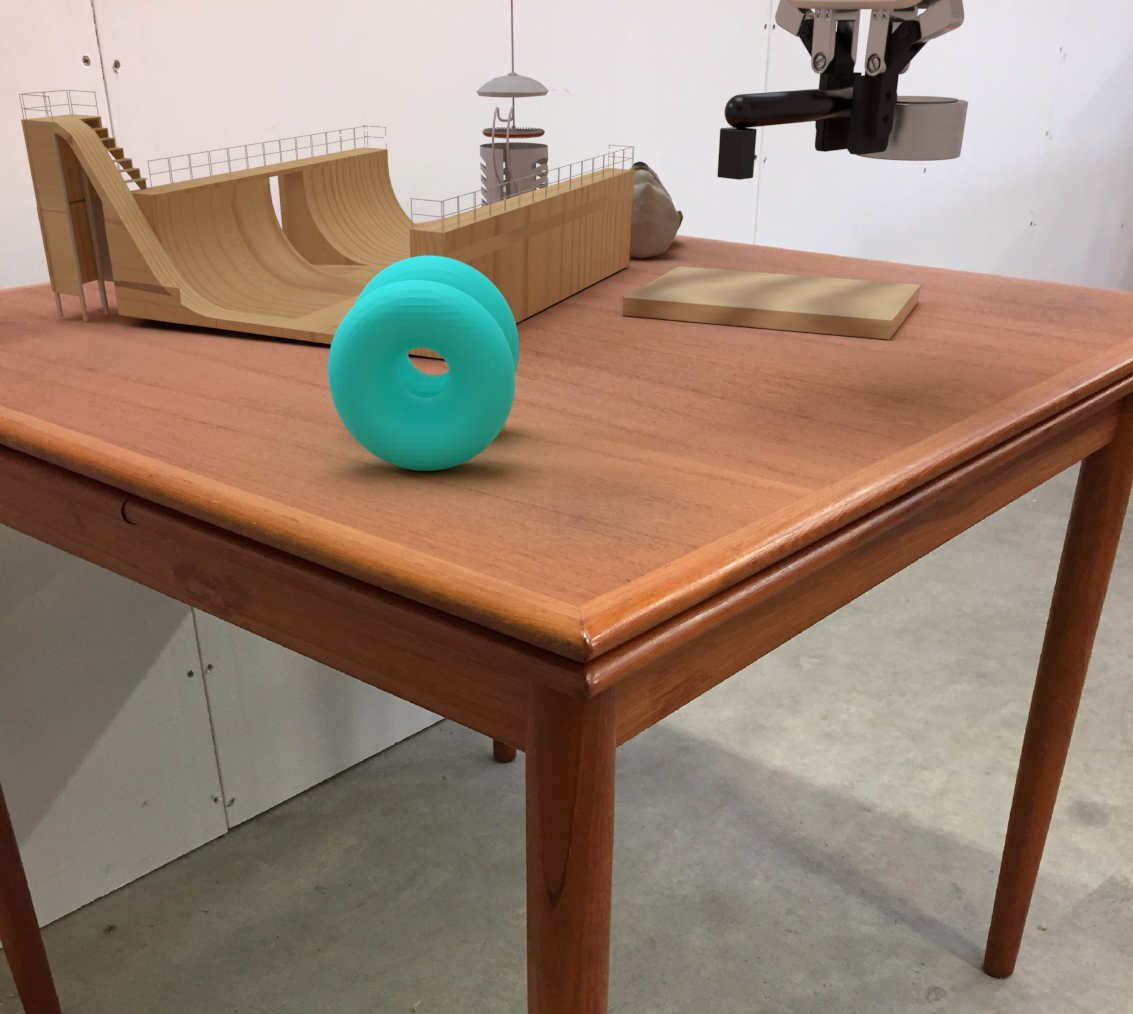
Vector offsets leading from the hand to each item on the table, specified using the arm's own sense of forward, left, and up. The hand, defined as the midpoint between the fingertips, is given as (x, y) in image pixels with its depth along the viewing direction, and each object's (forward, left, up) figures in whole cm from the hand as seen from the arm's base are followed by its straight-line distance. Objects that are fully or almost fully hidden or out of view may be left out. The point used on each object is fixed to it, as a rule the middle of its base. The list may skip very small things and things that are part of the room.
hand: (850, 148), depth 72 cm
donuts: (+9, +25, -15) cm, 31 cm away
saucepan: (0, +1, -1) cm, 1 cm away
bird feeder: (+70, -34, -15) cm, 79 cm away
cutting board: (+20, -20, -15) cm, 32 cm away
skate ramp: (+49, +1, -15) cm, 51 cm away
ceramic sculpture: (+48, -32, -15) cm, 60 cm away
